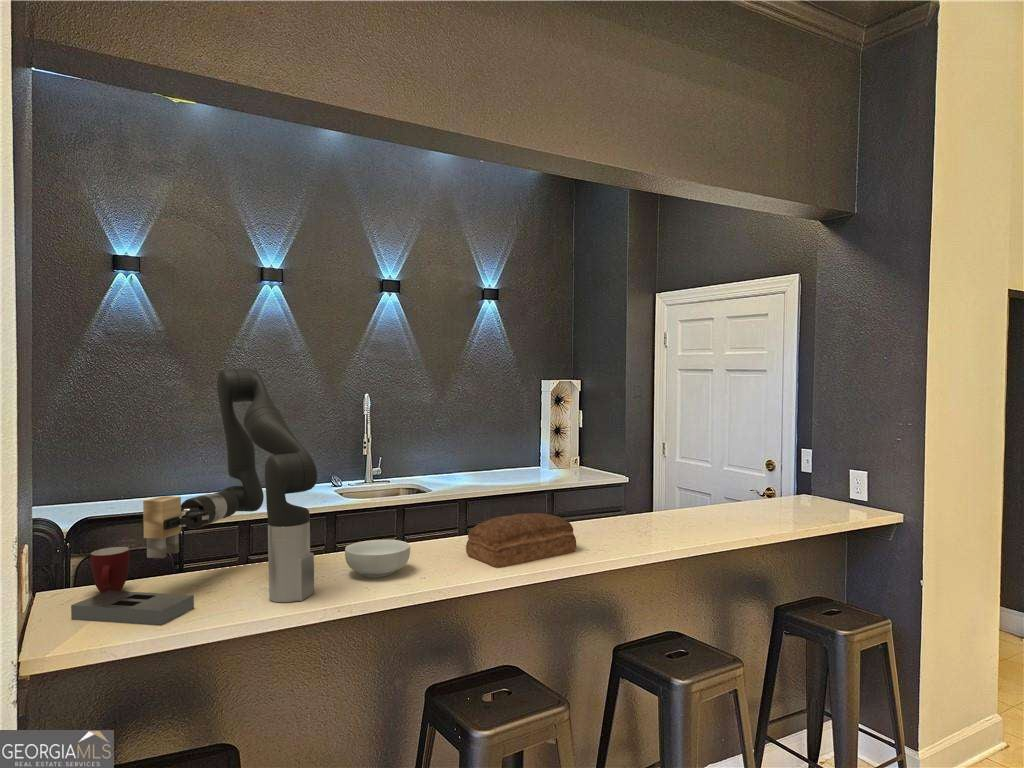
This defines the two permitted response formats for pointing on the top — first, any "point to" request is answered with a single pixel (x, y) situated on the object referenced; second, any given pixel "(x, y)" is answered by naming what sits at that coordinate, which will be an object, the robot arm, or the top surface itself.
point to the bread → (520, 539)
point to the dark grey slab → (132, 607)
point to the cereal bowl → (377, 557)
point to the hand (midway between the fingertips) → (154, 524)
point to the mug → (110, 568)
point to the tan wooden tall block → (161, 525)
